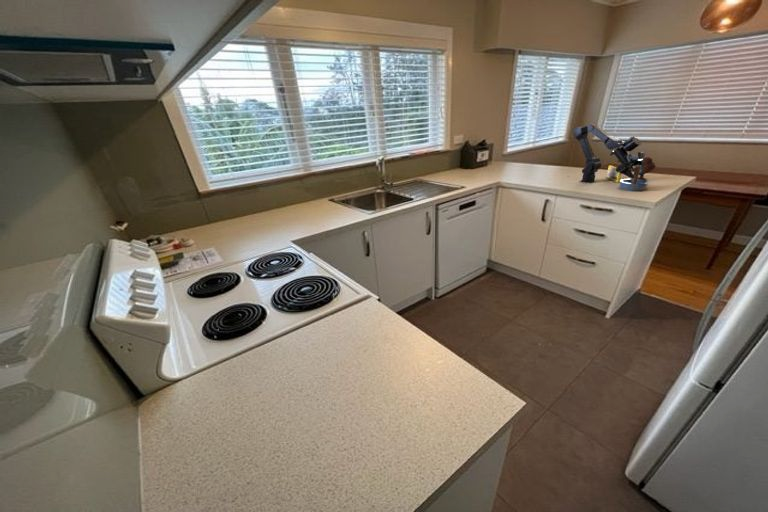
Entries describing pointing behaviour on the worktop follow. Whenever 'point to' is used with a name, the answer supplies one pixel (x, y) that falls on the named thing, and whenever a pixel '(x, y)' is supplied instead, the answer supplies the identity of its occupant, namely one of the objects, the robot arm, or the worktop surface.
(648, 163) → the brown tree model
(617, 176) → the candy box
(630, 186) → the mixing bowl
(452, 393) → the worktop surface
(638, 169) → the stirring stick
